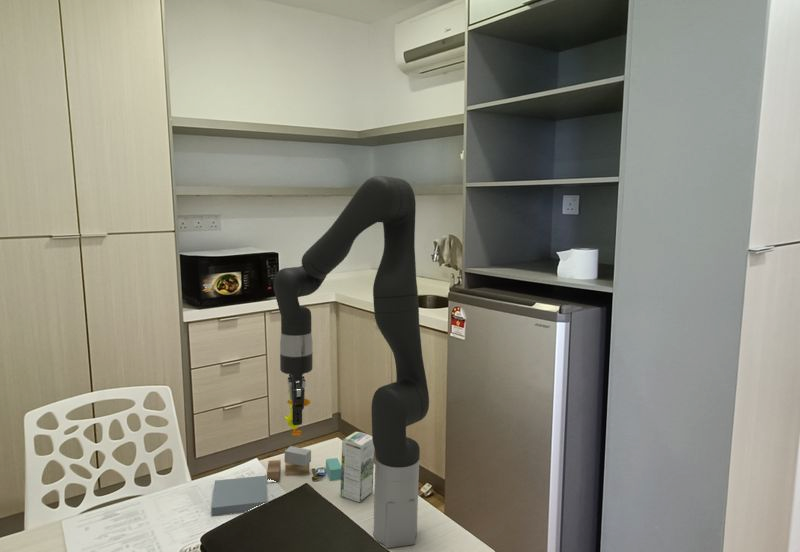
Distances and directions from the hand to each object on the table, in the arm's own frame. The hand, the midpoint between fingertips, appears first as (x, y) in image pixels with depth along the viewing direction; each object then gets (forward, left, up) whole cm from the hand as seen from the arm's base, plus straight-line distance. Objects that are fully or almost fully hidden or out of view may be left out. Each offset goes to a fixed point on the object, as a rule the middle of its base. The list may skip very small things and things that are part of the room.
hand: (296, 420), depth 129 cm
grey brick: (+8, -1, -15) cm, 17 cm away
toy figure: (0, 0, -4) cm, 4 cm away
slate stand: (-2, +13, -17) cm, 22 cm away
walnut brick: (+7, +5, -18) cm, 20 cm away
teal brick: (+5, -10, -18) cm, 21 cm away
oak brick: (+8, -1, -18) cm, 19 cm away
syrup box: (-6, -14, -18) cm, 23 cm away
